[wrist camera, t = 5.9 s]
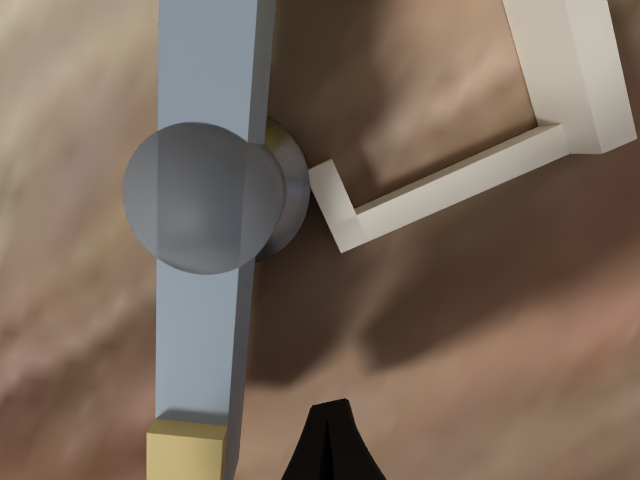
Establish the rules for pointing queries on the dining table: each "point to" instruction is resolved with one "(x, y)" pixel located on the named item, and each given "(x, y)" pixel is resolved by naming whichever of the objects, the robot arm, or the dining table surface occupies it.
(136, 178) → the lever
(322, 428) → the robot arm
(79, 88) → the dining table surface
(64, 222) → the dining table surface
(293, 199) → the base
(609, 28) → the cream l-shaped bracket
